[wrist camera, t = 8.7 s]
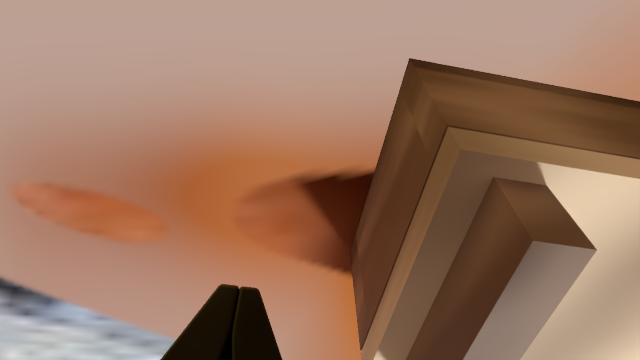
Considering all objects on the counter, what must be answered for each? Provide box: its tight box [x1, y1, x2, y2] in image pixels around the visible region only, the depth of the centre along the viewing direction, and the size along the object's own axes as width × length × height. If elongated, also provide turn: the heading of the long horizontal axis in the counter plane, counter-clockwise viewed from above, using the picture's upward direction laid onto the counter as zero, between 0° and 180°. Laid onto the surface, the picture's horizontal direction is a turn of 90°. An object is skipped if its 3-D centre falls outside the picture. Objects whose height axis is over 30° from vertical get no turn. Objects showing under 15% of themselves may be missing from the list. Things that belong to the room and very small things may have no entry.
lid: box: [361, 127, 640, 360], centre depth 11 cm, size 12×8×3 cm, turn 79°
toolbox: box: [350, 58, 640, 351], centre depth 15 cm, size 12×8×4 cm, turn 79°
